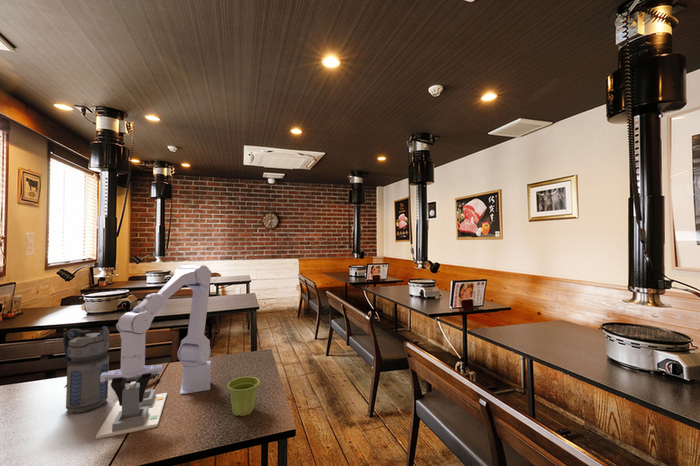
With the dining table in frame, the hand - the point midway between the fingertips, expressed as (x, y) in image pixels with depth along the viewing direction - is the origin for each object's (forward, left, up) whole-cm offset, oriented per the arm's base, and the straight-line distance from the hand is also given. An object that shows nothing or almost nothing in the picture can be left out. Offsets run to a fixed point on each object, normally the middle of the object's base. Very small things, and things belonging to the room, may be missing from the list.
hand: (131, 402), depth 89 cm
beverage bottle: (+16, -18, -6) cm, 25 cm away
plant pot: (-30, +5, -6) cm, 31 cm away
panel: (0, -6, -6) cm, 9 cm away
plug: (0, 0, -3) cm, 3 cm away
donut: (+3, -31, -7) cm, 32 cm away
